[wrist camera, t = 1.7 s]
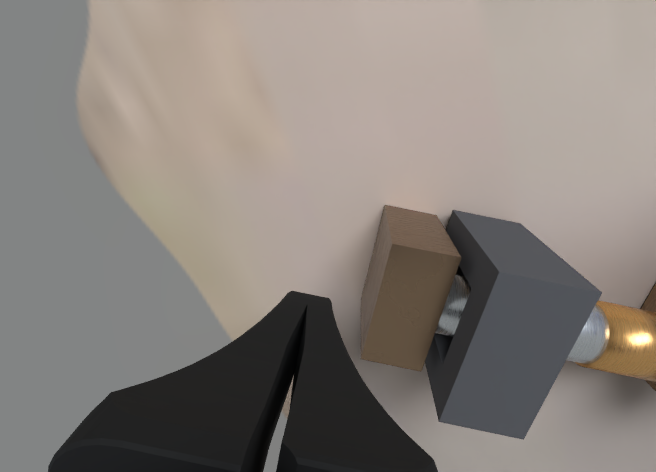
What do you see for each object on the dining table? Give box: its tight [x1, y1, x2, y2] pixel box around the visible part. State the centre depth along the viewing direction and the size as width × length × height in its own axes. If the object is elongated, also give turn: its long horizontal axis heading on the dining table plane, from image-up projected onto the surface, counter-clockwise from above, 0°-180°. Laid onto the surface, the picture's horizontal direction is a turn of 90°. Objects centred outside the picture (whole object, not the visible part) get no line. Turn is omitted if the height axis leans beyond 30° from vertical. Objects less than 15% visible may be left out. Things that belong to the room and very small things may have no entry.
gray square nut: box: [425, 210, 602, 439], centre depth 15 cm, size 3×6×6 cm, turn 170°
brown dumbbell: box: [361, 205, 656, 391], centre depth 16 cm, size 15×5×5 cm, turn 80°
